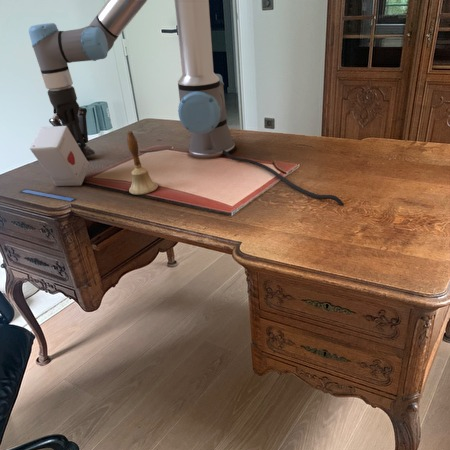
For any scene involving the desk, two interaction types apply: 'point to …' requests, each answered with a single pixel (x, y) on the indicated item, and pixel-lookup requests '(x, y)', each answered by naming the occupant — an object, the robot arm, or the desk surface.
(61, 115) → the robot arm
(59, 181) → the rectangular carton
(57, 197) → the tape line
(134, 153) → the hand bell
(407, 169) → the desk surface
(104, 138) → the desk surface
